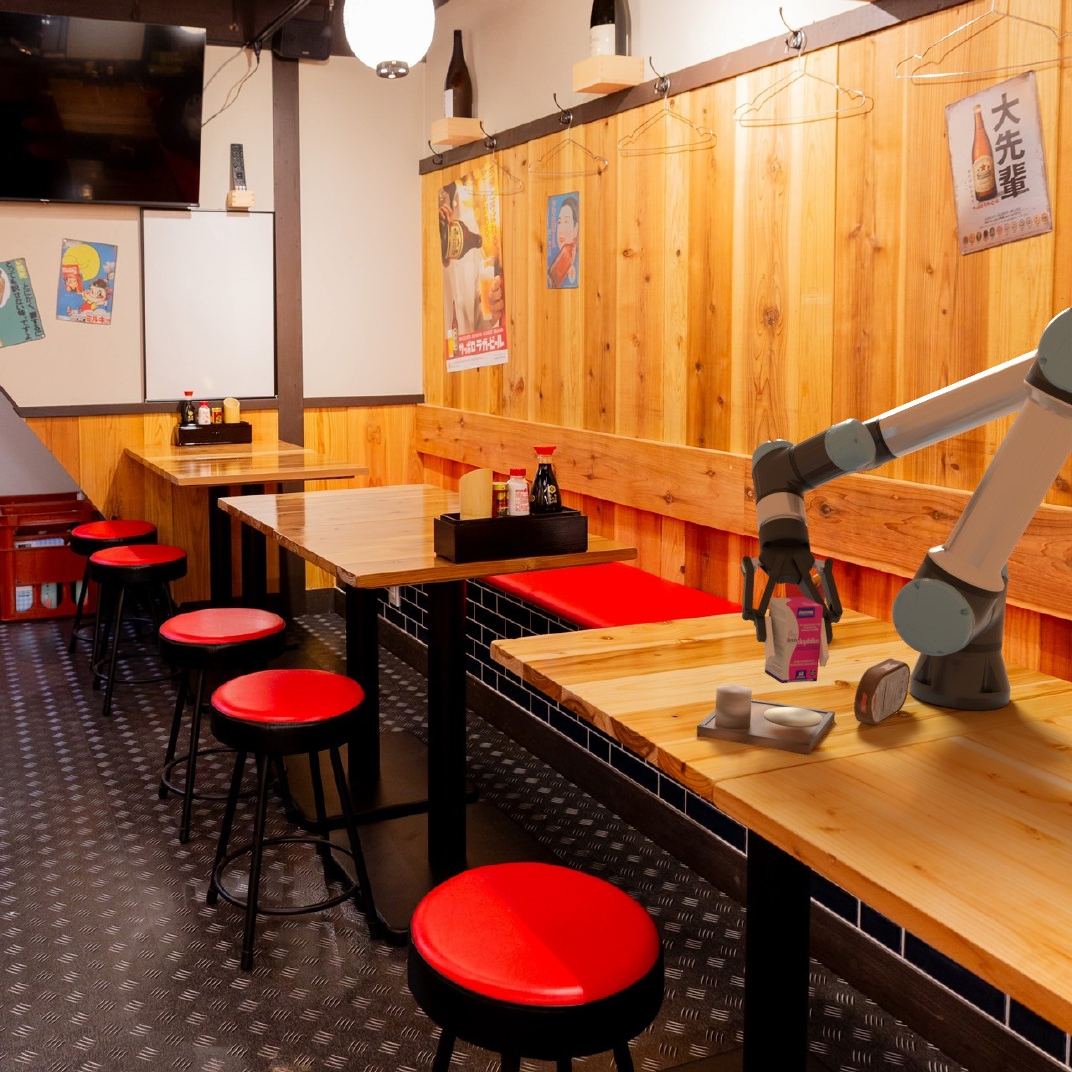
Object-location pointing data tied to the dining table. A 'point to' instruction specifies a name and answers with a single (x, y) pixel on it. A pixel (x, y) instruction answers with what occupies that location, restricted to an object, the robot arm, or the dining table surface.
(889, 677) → the tin
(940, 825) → the dining table surface
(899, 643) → the dining table surface
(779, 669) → the supplement box
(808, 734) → the board
